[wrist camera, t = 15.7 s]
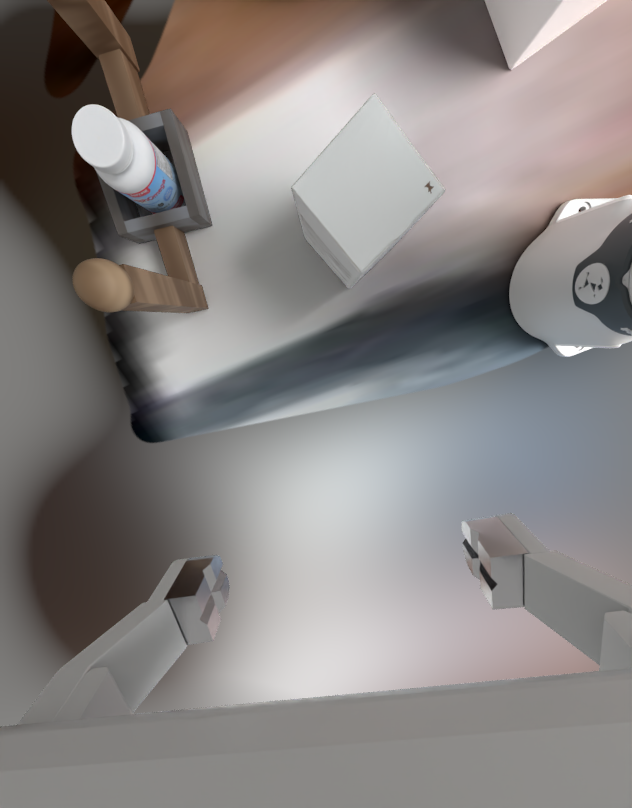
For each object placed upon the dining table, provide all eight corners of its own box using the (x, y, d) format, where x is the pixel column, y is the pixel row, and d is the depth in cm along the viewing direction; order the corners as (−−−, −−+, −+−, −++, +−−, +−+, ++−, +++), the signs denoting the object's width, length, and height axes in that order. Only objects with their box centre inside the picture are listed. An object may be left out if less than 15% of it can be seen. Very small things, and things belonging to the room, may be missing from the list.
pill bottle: (154, 226, 38) (85, 188, 27) (130, 172, 36) (48, 110, 25) (196, 207, 37) (144, 162, 26) (175, 152, 35) (109, 79, 25)
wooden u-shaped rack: (158, 22, 32) (-62, -370, 14) (234, 306, 40) (158, 296, 22) (74, 48, 33) (-239, -291, 15) (164, 322, 41) (36, 324, 23)
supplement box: (355, 178, 36) (377, 83, 21) (402, 239, 37) (451, 188, 23) (301, 236, 37) (287, 184, 23) (348, 291, 39) (361, 275, 25)
